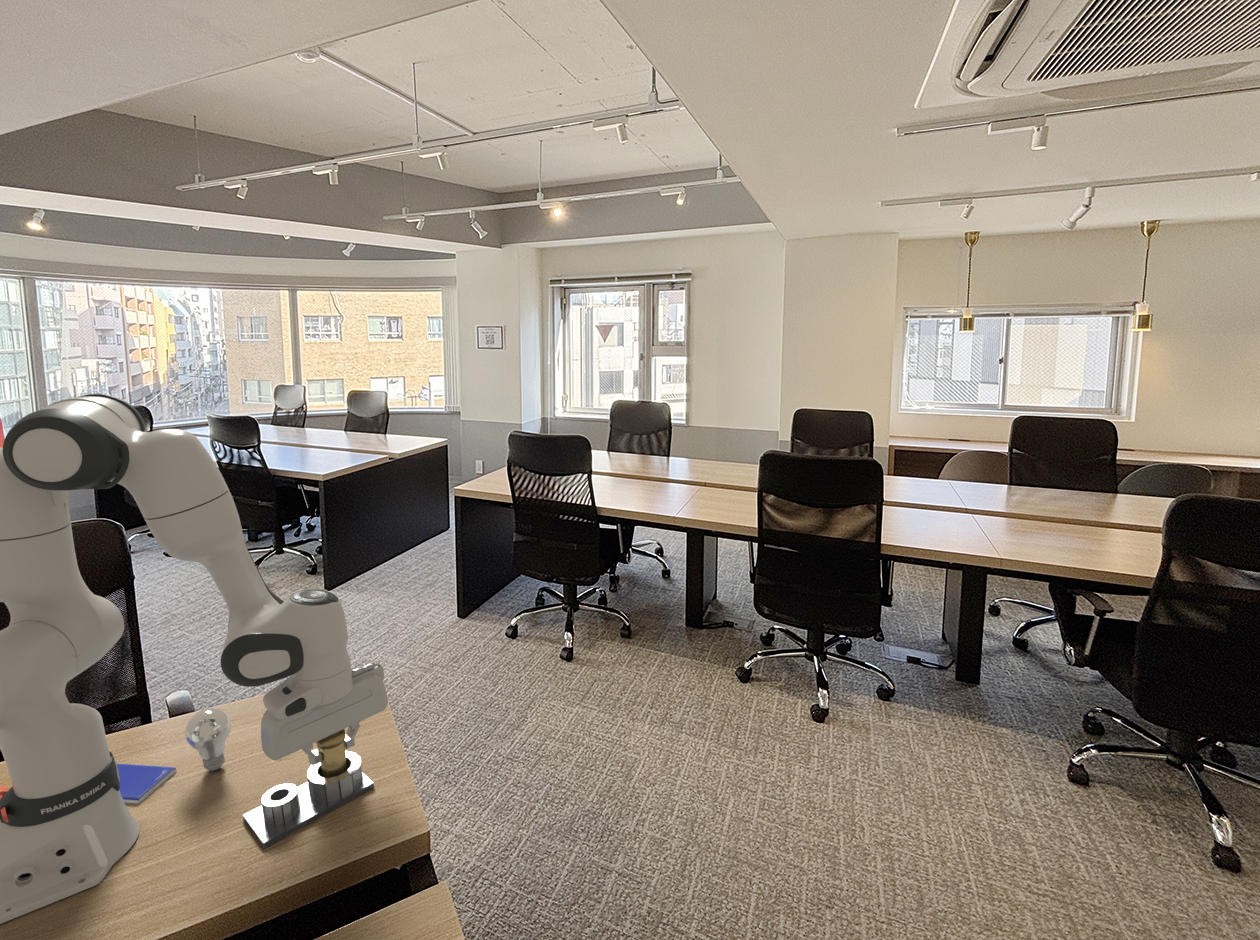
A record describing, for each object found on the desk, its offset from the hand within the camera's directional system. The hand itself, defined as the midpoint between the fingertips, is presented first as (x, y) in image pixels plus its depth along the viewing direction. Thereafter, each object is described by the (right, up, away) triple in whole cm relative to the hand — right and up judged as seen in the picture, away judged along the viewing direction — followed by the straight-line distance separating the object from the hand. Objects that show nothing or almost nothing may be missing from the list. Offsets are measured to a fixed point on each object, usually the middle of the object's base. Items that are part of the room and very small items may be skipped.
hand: (332, 754), depth 111 cm
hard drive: (-38, -7, +3) cm, 39 cm away
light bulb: (-25, -6, +7) cm, 26 cm away
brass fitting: (0, -6, +1) cm, 6 cm away
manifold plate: (-3, -8, -2) cm, 8 cm away
